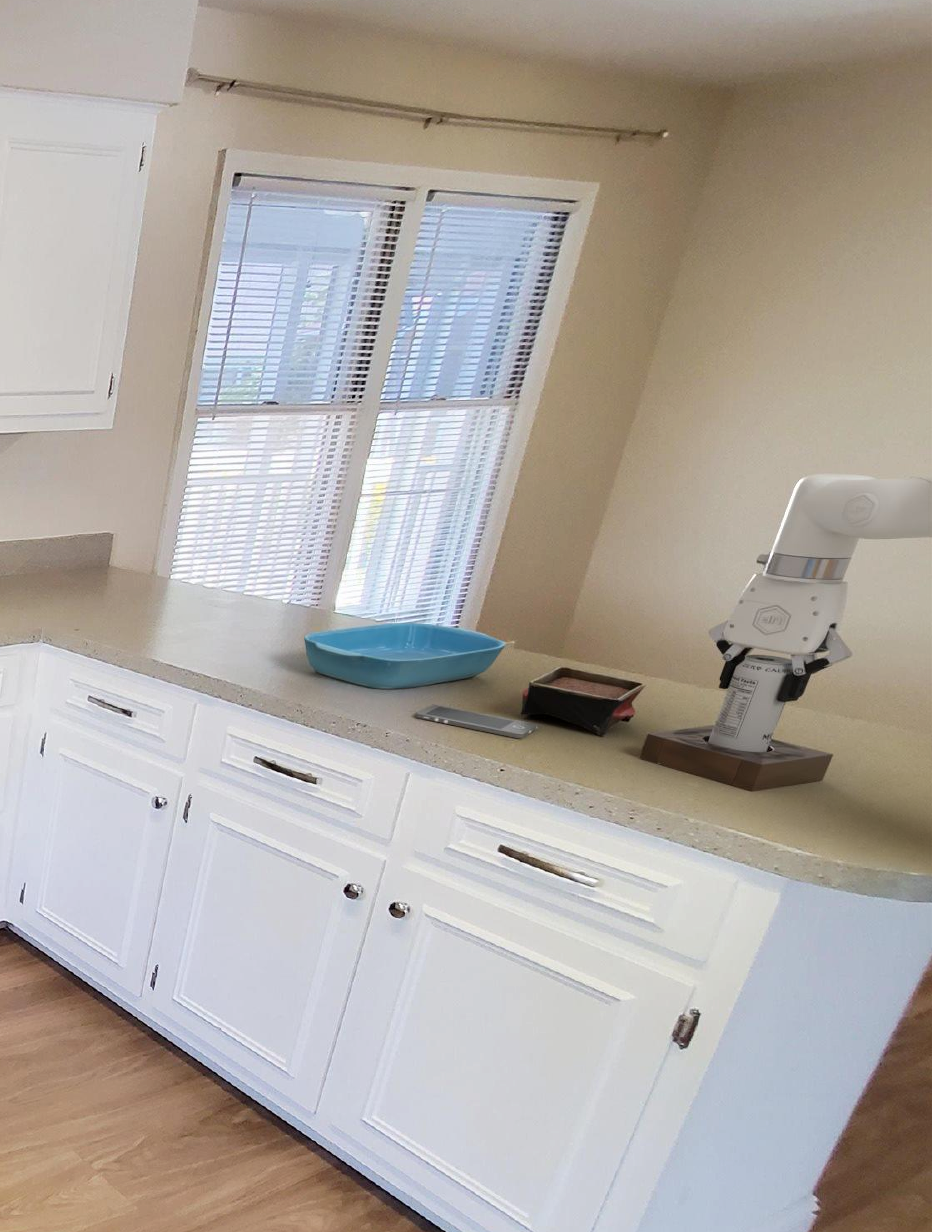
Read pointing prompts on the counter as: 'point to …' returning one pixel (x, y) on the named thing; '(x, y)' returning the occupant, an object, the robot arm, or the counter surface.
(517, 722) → the smartphone
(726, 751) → the holder
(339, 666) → the casserole dish
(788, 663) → the energy drink can
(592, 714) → the dark brown bonsai pot
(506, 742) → the counter surface
